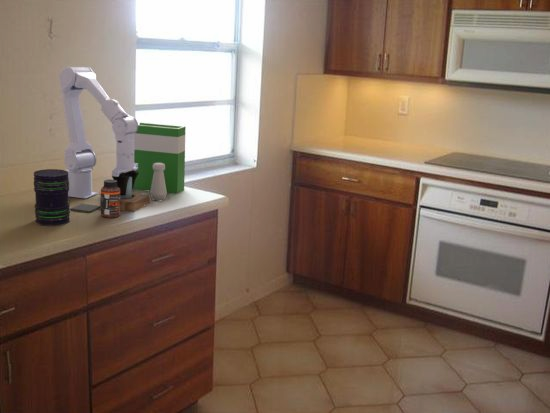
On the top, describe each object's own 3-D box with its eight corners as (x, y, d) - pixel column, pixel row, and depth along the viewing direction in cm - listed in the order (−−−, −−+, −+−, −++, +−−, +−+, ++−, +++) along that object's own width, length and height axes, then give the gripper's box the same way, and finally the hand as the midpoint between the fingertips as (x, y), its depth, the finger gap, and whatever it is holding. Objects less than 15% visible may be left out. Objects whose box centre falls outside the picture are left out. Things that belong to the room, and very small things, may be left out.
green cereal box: (132, 189, 229) (132, 124, 223) (140, 185, 236) (140, 122, 230) (177, 194, 226) (178, 128, 220) (184, 189, 233) (185, 126, 227)
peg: (116, 204, 205) (116, 177, 203) (122, 201, 209) (122, 175, 207) (128, 205, 204) (128, 179, 202) (134, 202, 208) (134, 176, 206)
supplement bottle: (110, 219, 190) (109, 183, 187) (96, 215, 193) (96, 180, 190) (124, 215, 195) (124, 180, 192) (110, 212, 198) (110, 177, 195)
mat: (70, 210, 197) (70, 208, 197) (81, 205, 204) (81, 203, 204) (89, 213, 196) (89, 211, 195) (101, 207, 202) (100, 206, 202)
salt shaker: (163, 202, 214) (163, 165, 210) (147, 200, 215) (147, 163, 211) (169, 198, 219) (169, 162, 216) (154, 196, 220) (154, 160, 217)
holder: (100, 207, 203) (100, 198, 202) (117, 199, 214) (117, 190, 213) (133, 211, 200) (133, 202, 199) (149, 203, 211) (149, 194, 211)
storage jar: (36, 227, 179) (33, 176, 175) (34, 217, 187) (32, 169, 183) (72, 224, 183) (70, 175, 179) (68, 215, 191) (67, 168, 187)
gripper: (126, 158, 195) (126, 199, 198) (146, 151, 209) (146, 190, 212) (105, 156, 196) (106, 197, 200) (127, 149, 210) (127, 188, 214)
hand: (125, 193), depth 206 cm, fingers closed on peg, 4 cm apart
